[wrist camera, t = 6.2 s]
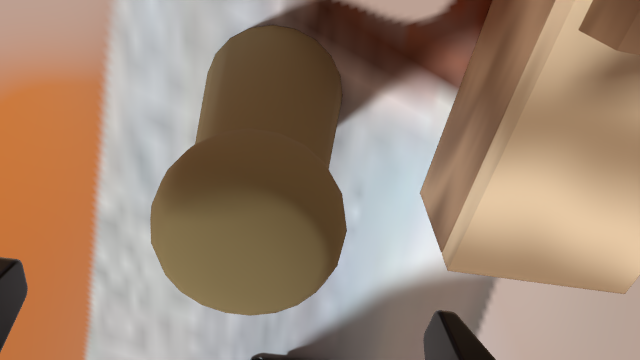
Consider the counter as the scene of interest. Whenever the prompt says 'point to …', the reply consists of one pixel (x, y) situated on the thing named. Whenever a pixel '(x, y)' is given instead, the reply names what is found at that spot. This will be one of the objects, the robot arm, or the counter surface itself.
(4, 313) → the robot arm
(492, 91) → the toolbox
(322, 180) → the brown bottle
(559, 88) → the lid
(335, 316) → the counter surface
